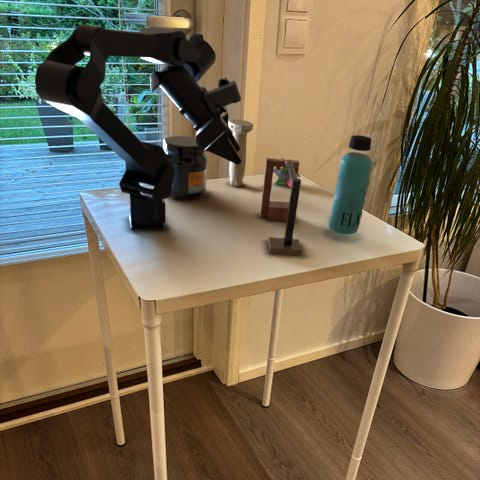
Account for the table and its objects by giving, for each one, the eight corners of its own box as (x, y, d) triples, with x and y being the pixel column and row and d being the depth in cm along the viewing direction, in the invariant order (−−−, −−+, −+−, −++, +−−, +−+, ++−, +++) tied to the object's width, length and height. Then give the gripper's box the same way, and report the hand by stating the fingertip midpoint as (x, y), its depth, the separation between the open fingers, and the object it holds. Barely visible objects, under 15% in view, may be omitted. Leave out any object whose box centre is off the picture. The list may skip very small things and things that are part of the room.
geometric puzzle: (309, 181, 128) (300, 150, 127) (289, 184, 124) (279, 153, 124) (292, 190, 134) (283, 161, 133) (272, 194, 130) (263, 164, 130)
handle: (235, 190, 124) (240, 126, 116) (221, 181, 129) (224, 120, 120) (251, 187, 127) (257, 125, 119) (236, 179, 131) (241, 118, 123)
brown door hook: (260, 219, 110) (267, 162, 103) (259, 212, 113) (266, 156, 106) (291, 222, 110) (300, 164, 103) (290, 215, 113) (298, 158, 107)
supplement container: (215, 195, 120) (218, 143, 113) (179, 204, 114) (180, 149, 107) (187, 182, 126) (188, 132, 119) (152, 190, 120) (151, 137, 113)
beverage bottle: (334, 242, 103) (354, 141, 92) (321, 228, 108) (338, 131, 97) (362, 240, 105) (385, 141, 94) (348, 227, 110) (369, 132, 99)
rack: (269, 253, 96) (278, 182, 88) (264, 220, 110) (272, 156, 102) (300, 255, 96) (312, 185, 89) (292, 222, 110) (301, 158, 102)
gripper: (217, 71, 87) (273, 142, 94) (218, 58, 103) (266, 119, 109) (171, 115, 91) (228, 180, 98) (179, 96, 106) (227, 154, 113)
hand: (239, 156), depth 104 cm, fingers open, 9 cm apart
